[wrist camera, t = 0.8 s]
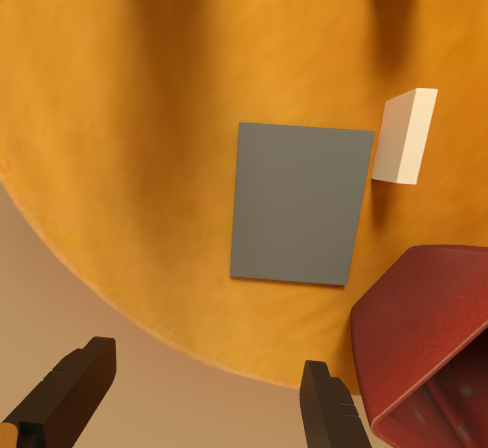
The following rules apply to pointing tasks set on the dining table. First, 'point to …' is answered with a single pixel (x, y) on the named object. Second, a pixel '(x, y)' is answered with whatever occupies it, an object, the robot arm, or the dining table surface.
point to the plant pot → (426, 349)
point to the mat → (298, 201)
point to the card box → (404, 136)
